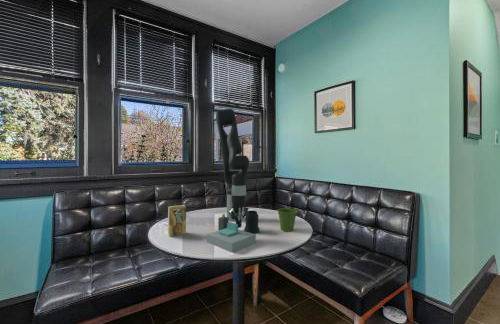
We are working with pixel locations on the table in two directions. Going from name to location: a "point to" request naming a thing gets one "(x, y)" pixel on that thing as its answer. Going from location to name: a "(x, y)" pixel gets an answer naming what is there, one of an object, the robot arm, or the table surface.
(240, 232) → the socket plate
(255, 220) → the mug
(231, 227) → the shutter
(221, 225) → the plug
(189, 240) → the table surface
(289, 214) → the plant pot
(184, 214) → the candy box
